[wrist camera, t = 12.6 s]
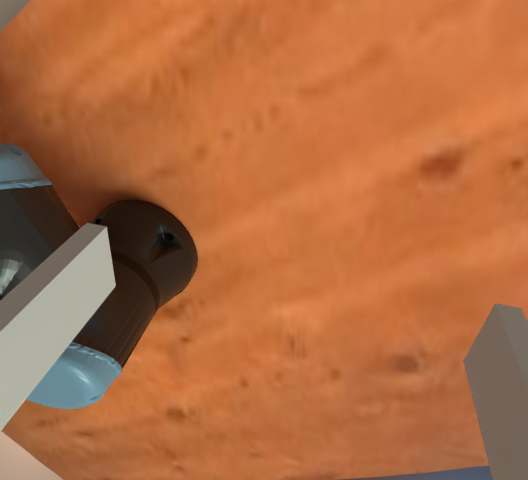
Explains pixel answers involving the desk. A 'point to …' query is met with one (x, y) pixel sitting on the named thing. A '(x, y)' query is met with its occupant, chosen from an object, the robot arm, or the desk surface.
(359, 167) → the desk surface
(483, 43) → the desk surface
